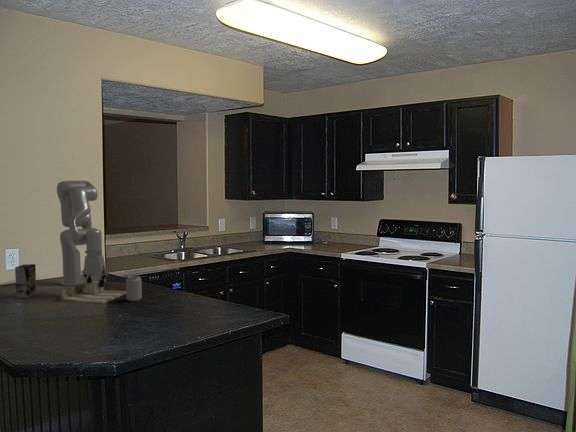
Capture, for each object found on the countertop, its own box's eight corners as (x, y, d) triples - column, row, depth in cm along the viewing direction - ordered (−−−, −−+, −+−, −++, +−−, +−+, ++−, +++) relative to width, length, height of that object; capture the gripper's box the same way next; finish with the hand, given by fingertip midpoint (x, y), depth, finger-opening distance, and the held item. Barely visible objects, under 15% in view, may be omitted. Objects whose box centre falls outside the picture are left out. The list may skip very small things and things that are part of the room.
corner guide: (89, 290, 278) (89, 281, 278) (129, 292, 273) (129, 283, 272) (60, 301, 255) (60, 291, 254) (103, 303, 249) (102, 293, 249)
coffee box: (28, 298, 262) (26, 267, 261) (15, 298, 262) (14, 267, 261) (37, 293, 271) (35, 263, 270) (25, 293, 271) (23, 264, 270)
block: (86, 293, 266) (85, 283, 265) (96, 289, 274) (96, 280, 274) (95, 293, 264) (94, 284, 264) (105, 290, 273) (104, 280, 273)
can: (144, 298, 260) (143, 274, 259) (138, 301, 252) (137, 277, 252) (130, 297, 261) (129, 274, 260) (123, 301, 253) (123, 277, 252)
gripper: (75, 253, 266) (76, 287, 267) (104, 254, 262) (106, 288, 263) (84, 251, 273) (85, 284, 275) (113, 252, 269) (114, 285, 271)
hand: (95, 286), depth 269 cm, fingers open, 6 cm apart
